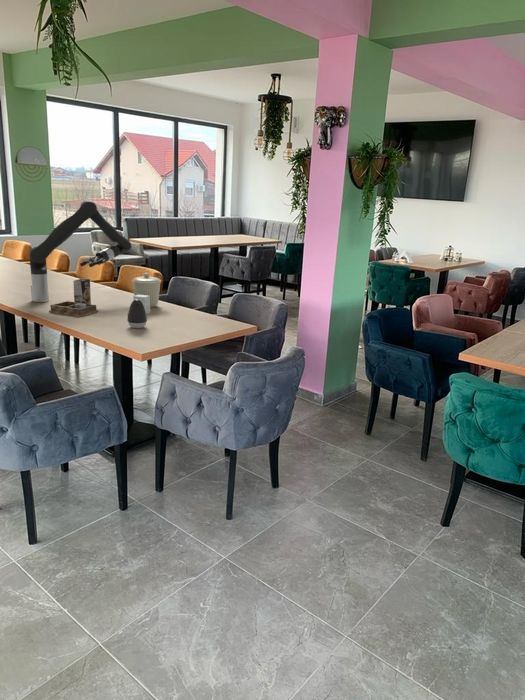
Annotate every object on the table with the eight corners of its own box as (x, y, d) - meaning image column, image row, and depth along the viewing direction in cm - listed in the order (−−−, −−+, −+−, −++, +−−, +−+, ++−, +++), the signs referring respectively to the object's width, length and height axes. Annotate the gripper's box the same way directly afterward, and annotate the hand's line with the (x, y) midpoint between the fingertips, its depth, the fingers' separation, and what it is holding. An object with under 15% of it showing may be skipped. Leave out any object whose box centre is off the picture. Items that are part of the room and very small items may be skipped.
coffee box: (84, 307, 322) (82, 281, 317) (74, 307, 323) (72, 280, 318) (91, 305, 331) (90, 279, 326) (82, 304, 332) (80, 278, 327)
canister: (141, 310, 322) (140, 275, 316) (126, 305, 335) (125, 271, 329) (167, 307, 334) (167, 274, 328) (152, 302, 347) (151, 269, 340)
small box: (150, 313, 318) (150, 295, 315) (145, 314, 313) (145, 297, 310) (138, 311, 320) (138, 294, 317) (133, 313, 315) (133, 295, 312)
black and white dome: (129, 330, 278) (128, 301, 274) (126, 325, 287) (125, 297, 283) (149, 329, 282) (148, 301, 278) (145, 324, 291) (144, 297, 287)
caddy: (49, 311, 308) (48, 303, 307) (68, 306, 322) (68, 298, 321) (79, 316, 300) (79, 308, 299) (98, 311, 315) (97, 303, 313)
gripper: (95, 249, 337) (75, 259, 326) (110, 250, 329) (90, 260, 318) (99, 260, 340) (79, 270, 329) (114, 261, 333) (94, 271, 321)
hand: (85, 265), depth 324 cm, fingers open, 8 cm apart
